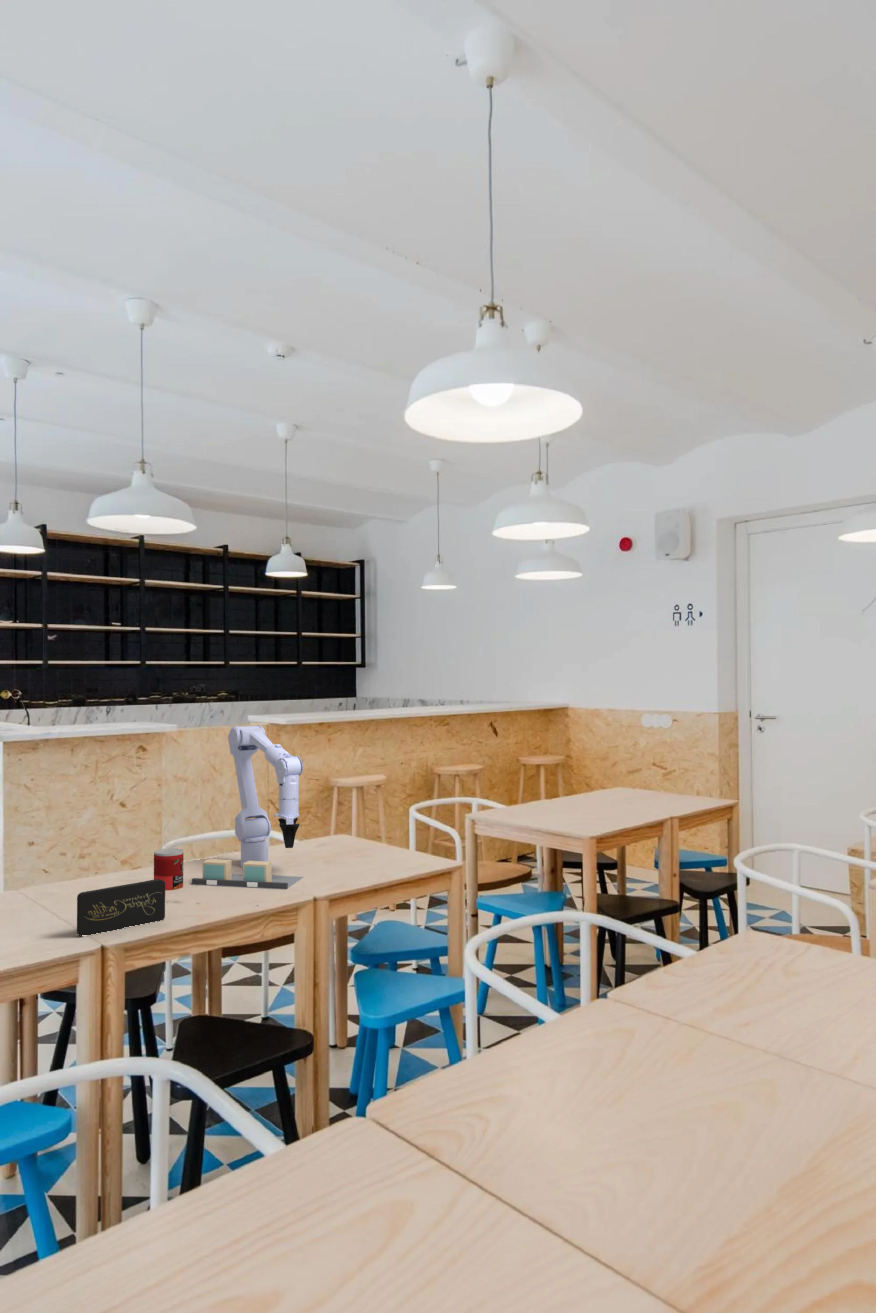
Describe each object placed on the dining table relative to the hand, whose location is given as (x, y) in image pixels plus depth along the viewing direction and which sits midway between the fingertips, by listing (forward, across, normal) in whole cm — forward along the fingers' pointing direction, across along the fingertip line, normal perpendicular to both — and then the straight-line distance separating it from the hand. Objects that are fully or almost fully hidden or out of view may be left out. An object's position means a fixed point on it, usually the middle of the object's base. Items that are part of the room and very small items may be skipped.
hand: (288, 845), depth 259 cm
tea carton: (+9, +6, -9) cm, 14 cm away
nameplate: (+11, +39, -41) cm, 57 cm away
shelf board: (+10, +2, -11) cm, 15 cm away
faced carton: (+9, +2, -20) cm, 22 cm away
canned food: (+11, +4, -33) cm, 35 cm away
